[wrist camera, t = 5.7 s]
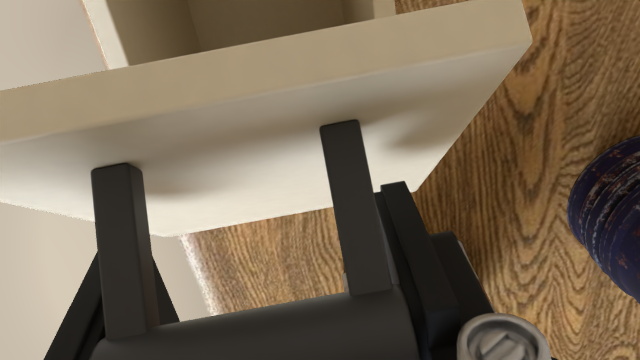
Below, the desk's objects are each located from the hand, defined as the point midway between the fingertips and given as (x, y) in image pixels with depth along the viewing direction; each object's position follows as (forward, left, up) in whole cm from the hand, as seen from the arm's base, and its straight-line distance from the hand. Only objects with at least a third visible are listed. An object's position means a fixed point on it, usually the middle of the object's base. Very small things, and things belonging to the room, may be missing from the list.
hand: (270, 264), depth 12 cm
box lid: (-1, 0, -3) cm, 3 cm away
